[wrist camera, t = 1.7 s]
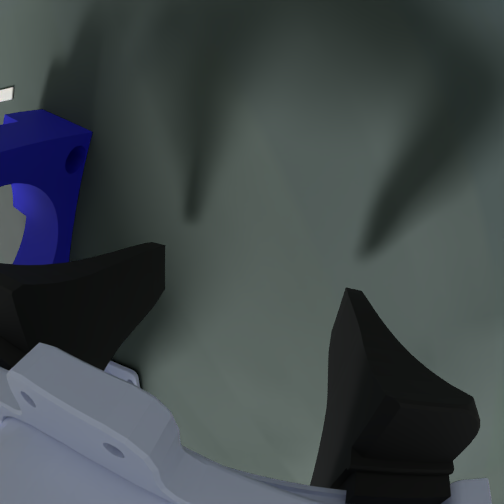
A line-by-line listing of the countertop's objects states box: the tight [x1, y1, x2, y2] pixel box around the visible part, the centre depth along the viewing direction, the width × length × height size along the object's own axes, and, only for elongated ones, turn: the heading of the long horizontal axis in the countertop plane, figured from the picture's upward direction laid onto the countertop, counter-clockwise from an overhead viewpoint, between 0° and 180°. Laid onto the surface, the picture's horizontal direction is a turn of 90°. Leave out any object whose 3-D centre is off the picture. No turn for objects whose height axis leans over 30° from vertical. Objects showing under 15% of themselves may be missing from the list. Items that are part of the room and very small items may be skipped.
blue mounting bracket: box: [0, 109, 93, 265], centre depth 14 cm, size 12×4×6 cm, turn 155°
